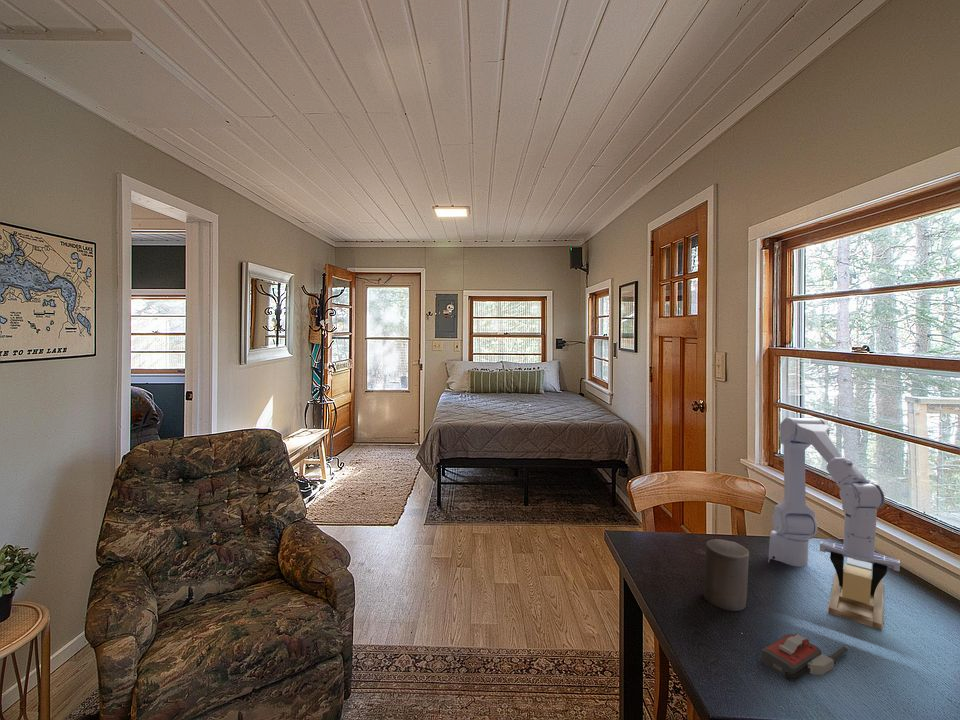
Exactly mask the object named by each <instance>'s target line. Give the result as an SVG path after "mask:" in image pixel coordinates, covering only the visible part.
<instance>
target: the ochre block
mask: <svg viewBox="0 0 960 720" xmlns="http://www.w3.org/2000/svg"><path fill="white" fill-rule="evenodd" d="M843 569H844V572H843V590H842V596H843V597H846V598H849V599H853V600H856V601H859V602H863V603H866V604H869V605H870V592H871V577H872V573H871V571H869V570H866V569H862V568H858V567H854V566H850V565H847V563H844V566H843Z"/></svg>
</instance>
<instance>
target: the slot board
mask: <svg viewBox="0 0 960 720" xmlns="http://www.w3.org/2000/svg"><path fill="white" fill-rule="evenodd" d="M843 572H844V568H843ZM871 581H872V576H871ZM842 590H843V587H841V586H839V580H838V576H837V573H836V572H835V573H834V578H833V583H832V588H831V591H830V592H831V593H830V596H829V601H828V605H827V606H828V607H827V610H826V612H827V613H829V614H832V615H835V616H838V617H841V618H844V619H847V620H851V621H853V622H856V623H859V624H862V625H866V626H868V627H871V628H874V629H877V630H881V631H883V630H884V584H883V579H881V581H880V582H879V584H878V586H877V587H876V590H875V593H874V596H872V595H870V605H869V604H866V603H863V602H859V601H856V600H853V599H849V598H846V597H843V596H842Z"/></svg>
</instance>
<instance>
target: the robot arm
mask: <svg viewBox="0 0 960 720" xmlns="http://www.w3.org/2000/svg"><path fill="white" fill-rule="evenodd" d="M779 439H780V441H779V443H780V444H781V445H782V446H783V487H784V489H783V490H784V492H783V493H784V494H783V496H784V497H783V498H784V499H783V501H780V502H779V503H778V504H776V505H774V508H773V514H772V517H771V523H772V527H773V529H772V530H771V531H770V536H769V544H768V561H767V563H768V564H769V562H770V560H774V561H778V562H781V563H783V564H786V565H789V566H792V567H800V568H801V567H802V568H803V567H807V566H808V562H809V561H808V560H809V544H810V542H809V541H810V540H812V537H813V536H815V535H816V534H817V532H818V526H819V525H818V522H817V520H816V519H817V518H816V513H815V511H814V510H813V508H811V507H810V506H808V504H806V503H807V502H806V501H807V500H806V493H807V492H806V489H807V488H806V450H807V449H808V448H809V447H811V446H812V447H813V448H814V449H815V450H816V452H818V453H819V455H820V456H821V457H822V459H824V460H825V462H826V463H827V465H826V471H827V472H828V474H829V476H830V477H831V478H832V480H833V481H834V482H835V483H836V485H837V486H838V489H840V490H839V497H840V500H841V503H842V511H843V512H844V524H843V526H844V527H843V540H842V541H843V544H840V543H835V542H828V541H822V540H821V541H820V543H819V551H820V552H821V553H830V554H829V555H830V557H829V559H830V562H831V563H832V565H833V567H834V570H835V573H837V576H838V580H839V586H841V587H843V569H844V565H845V557H846V558H848V557H849V558H852V559H855V560H859V561H865V562H869V563H872V573H871V577H872V581H871V592H870V595H872V596H874V593H875V590H876V587H877V586H878V584H879V582H880V581H881V580H883V578H884V577H885V576H886V575H887V573H888V569H892V570H893V571H895V572H900V567H901V560H900V559H896V558H894V557H893V558H892V557H891V556H890V557H889V556H887V555H884V554H881V553H879V552H875V549H876V535H877V534H876V532H877V531H876V530H877V517H878V516H877V514H878V509H881V508H882V507H883V506H884V504H885V494H884V491H883V490H882V488H881V486H880V485H879V484H878V483H876V482H873V481H871V479H866V477H865V476H864V475H863V473H862V472H861V471H860V470H859V469H858V467H857V466H856V465H855V464H854V462H853V461H852V460H851V459H849V458H847V457H843V456H842V455H841V453H840V451H839V450H838V448H837V446H836V445H835V444H834V442H833V441H832V439H831V438H830V426H829V425H828V424H827V422H826V421H825V420H824V419H823V418H821V417H818V418H817V417H816V418H807V417H806V418H805V417H804V418H802V417H801V418H800V417H797V418H796V417H785V418H784V419H783V420H782V421H781V422H780V424H779Z"/></svg>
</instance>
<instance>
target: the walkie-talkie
mask: <svg viewBox="0 0 960 720" xmlns="http://www.w3.org/2000/svg"><path fill="white" fill-rule="evenodd" d="M848 651H849V649H848V647H847V646H844V645H843V646H842V647H840V648H839V649H837V650H836V651H834V652H832V653H831V654H830V655H825V654H823V653H822V652H823V651H822V650H821V649H820V648H819V646H817V645H815V644H812V643H811V642H810V641H809V639H807V638H806V637H804V636H802V635H800V634H798V633H795V634H794V633H793V634H792V633H786V634H785V635H783V636H781V637H780V638H778V639H777V640H775V641H774V642H772V643H769V644H768V645H766V646H765V647H763V648H761V651H760V661H761V663H762V664H764V666H767V667H768V668H770V669H771V670H773V671H775V672H777V673H778V674H780V675H781V676H783V677H784V678H786V679H787V680H789V681H795V680H797V679H798V678H800V677H802V676H803V675H804V674H806V673H808V674H810V675H817V676H824V675H826V673H828V672H829V671H832V670H833V669H834V666H835V665H834V664H835V661H836V660H837V659H839V658H840V657H842V656H843V655H844V654H846V653H847V652H848Z"/></svg>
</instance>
